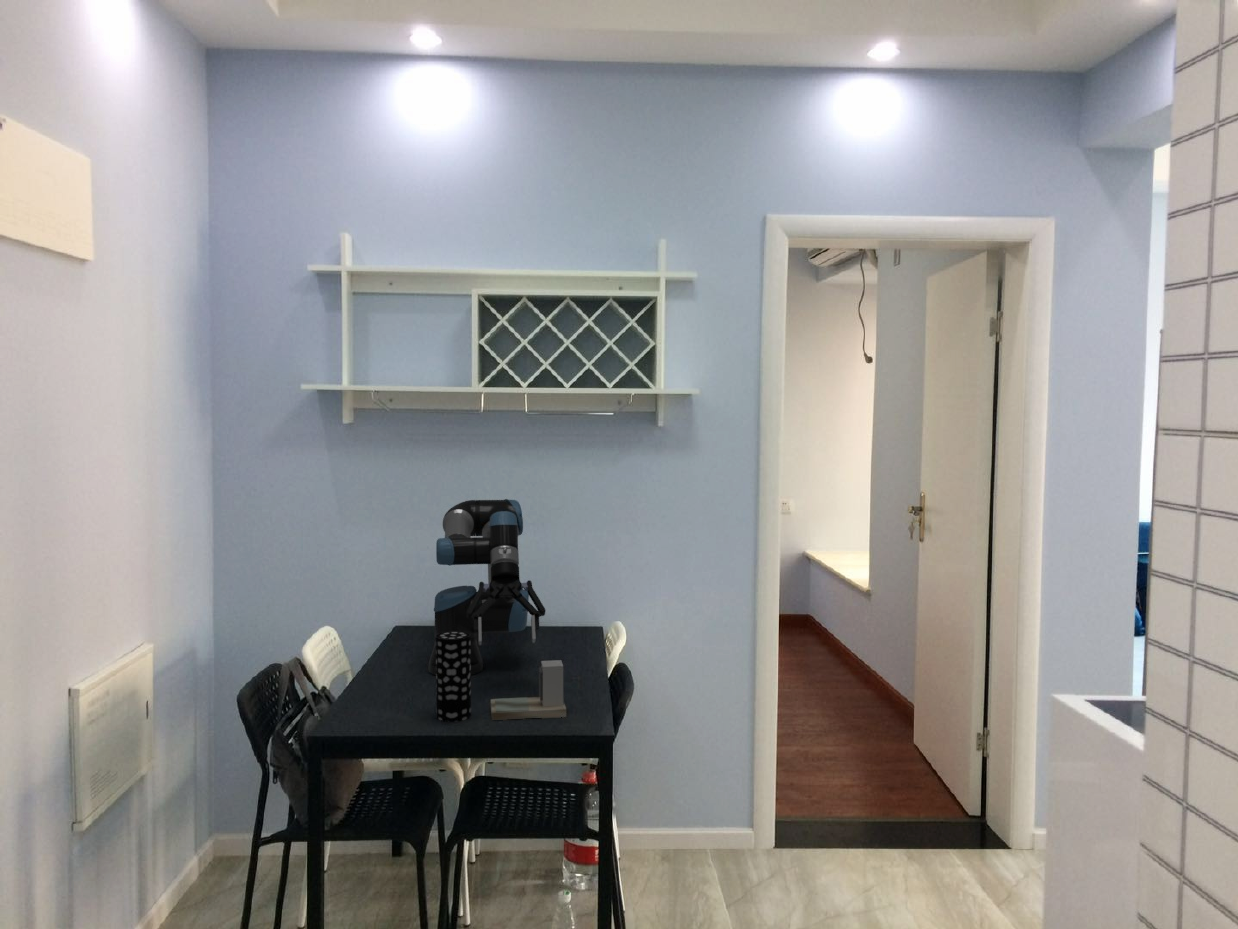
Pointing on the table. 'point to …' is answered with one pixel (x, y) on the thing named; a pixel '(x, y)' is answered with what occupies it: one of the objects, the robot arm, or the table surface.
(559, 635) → the table surface
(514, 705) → the beige rectangular board
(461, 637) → the white-spotted black cylinder
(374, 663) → the table surface
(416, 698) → the table surface
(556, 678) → the block
